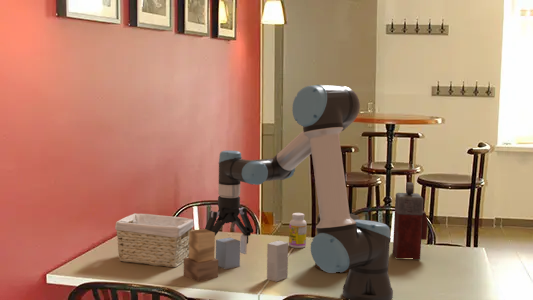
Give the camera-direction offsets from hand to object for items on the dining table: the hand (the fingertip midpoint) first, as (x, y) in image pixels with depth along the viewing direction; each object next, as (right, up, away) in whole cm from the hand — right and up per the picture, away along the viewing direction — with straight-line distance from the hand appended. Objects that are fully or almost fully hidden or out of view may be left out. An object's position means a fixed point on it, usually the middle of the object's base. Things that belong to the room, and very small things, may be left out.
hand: (227, 256), depth 234 cm
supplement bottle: (+26, -1, +29) cm, 39 cm away
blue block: (0, -3, 0) cm, 3 cm away
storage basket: (-26, -2, +5) cm, 26 cm away
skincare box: (+17, -6, -13) cm, 22 cm away
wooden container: (+38, -4, +2) cm, 38 cm away
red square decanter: (+67, -3, +19) cm, 70 cm away
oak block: (-8, +1, -13) cm, 15 cm away
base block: (-8, -5, -13) cm, 16 cm away
